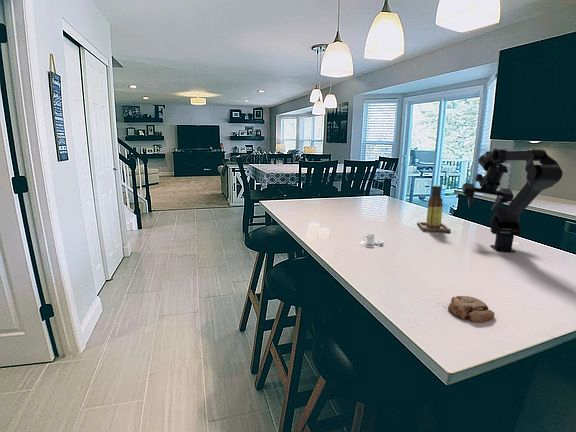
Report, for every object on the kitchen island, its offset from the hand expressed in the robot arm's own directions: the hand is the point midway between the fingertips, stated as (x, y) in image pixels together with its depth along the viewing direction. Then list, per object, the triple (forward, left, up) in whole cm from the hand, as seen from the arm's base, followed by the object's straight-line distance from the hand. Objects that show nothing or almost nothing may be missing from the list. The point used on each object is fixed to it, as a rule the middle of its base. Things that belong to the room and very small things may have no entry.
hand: (480, 208), depth 148 cm
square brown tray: (+7, +17, -12) cm, 22 cm away
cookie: (-75, +29, -13) cm, 81 cm away
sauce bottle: (+7, +17, -12) cm, 22 cm away
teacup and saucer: (-26, +46, -13) cm, 55 cm away
